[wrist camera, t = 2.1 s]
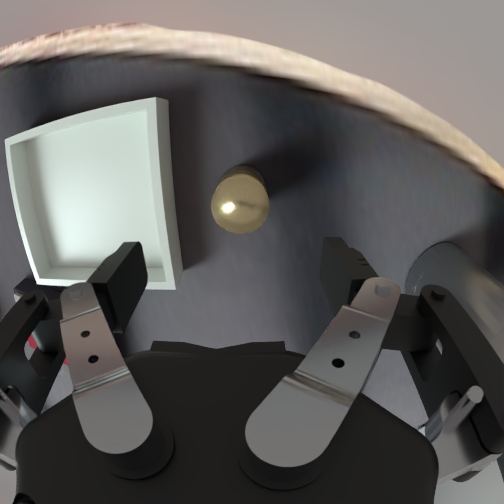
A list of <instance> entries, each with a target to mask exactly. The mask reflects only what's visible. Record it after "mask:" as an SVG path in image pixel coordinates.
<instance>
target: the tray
mask: <svg viewBox="0 0 504 504" xmlns="http://www.w3.org/2000/svg"><path fill="white" fill-rule="evenodd" d="M5 148H6V157H7V166H8V173H9V180H10V186H11V191H12V197H13V202H14V207H15V211H16V216H17V220H18V224H19V228H20V232H21V235H22V239H23V243H24V246H25V249H26V253H27V256H28V259H29V262H30V265H31V268H32V271H33V274H34V277H35V280H36V282H37V284H39V285H55V286H70V285H72V284H75V283H79V282H86V281H87V280H88V278H89V277H90V276H91V275H92V274H93V272H94V271H95V270H97V268H98V266H99V265H101V263H102V262H103V260H104V259H105V258H106V257H108V256H110V255H111V254H113V253H115V252H116V250H117V249H118V248H119V247H120V246H121V245H122V243H123V242H137V241H139V242H140V243H141V244H142V248H143V253H144V258H145V263H146V268H147V273H148V283H147V286H146V288H145V289H166V290H176V288H177V286H178V283H179V281H180V278H181V276H182V273H183V264H182V256H181V249H180V241H179V233H178V225H177V216H176V206H175V196H174V185H173V173H172V160H171V145H170V127H169V101H168V100H166V99H162V98H157V97H154V98H147V99H141V100H136V101H131V102H125V103H120V104H116V105H111V106H107V107H102V108H98V109H94V110H90V111H87V112H83V113H79V114H76V115H72V116H69V117H65V118H62V119H59V120H56V121H53V122H50V123H47V124H44V125H41V126H38V127H35V128H33V129H30V130H27V131H25V132H22V133H20V134H17V135H15V136H12V137H10V138H8V139H5Z"/></svg>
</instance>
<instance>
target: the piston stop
mask: <svg viewBox="0 0 504 504" xmlns="http://www.w3.org/2000/svg"><path fill="white" fill-rule="evenodd" d="M211 211H212V215H213V217H214V219H215V221H216V222H217V223H218V225H219V226H220V227H222V228H223V229H225V230H226V231H229V232H231V233H236V234H245V233H249V232H252V231H254V230H256V229H257V228H259V227H260V226H261V225H262V224H263V223H264V221H265V220H266V218H267V216H268V213H269V200H268V195H267V191H266V187H265V183H264V179H263V177H262V175H261V174H260V173H259V172H258V171H257V170H256V169H254V168H252V167H250V166H246V165H239V166H235V167H232V168H230V169H229V170H228V171H226V172H225V174H224V175H223V177H222V178H221V180H220V182H219V184H218V186H217V188H216V190H215V192H214V195H213V197H212V200H211Z"/></svg>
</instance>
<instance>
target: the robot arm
mask: <svg viewBox="0 0 504 504" xmlns="http://www.w3.org/2000/svg"><path fill="white" fill-rule="evenodd" d="M320 281H321V285H322V287H323V289H324V292H325V294H326V297H327V299H328V302H329V304H330V307H331V309H332V312H333V314H334V317H335V318H334V319H333V321H332V322H331V323H330V325H329V326H328V328H327V329H326V331H325V332H324V333H323V335H322V336H321V337H320V339H319V340H318V341H317V343H316V344H315V346H314V347H313V348H312V350H311V351H310V352H309V354H308V355H307V356H305V355H302V354H299V353H295V352H291V351H286V350H285V343H284V341H278V342H251V343H246V344H241V345H236V346H230V347H225V348H219V349H213V348H208V347H203V346H199V345H194V344H190V343H185V342H168V341H153V343H152V346H151V349H150V350H146V351H142V352H138V353H135V354H132V355H130V356H128V357H126V358H124V359H123V358H122V356H121V353H120V351H119V349H118V347H117V345H116V343H115V340H114V338H113V336H112V334H111V333H112V332H113V333H124V331H125V328H126V326H127V324H128V322H129V320H130V318H131V316H132V314H133V312H134V310H135V308H136V306H137V304H138V302H139V300H140V298H141V296H142V294H143V292H144V290H145V288H146V286H147V283H148V273H147V268H146V263H145V258H144V253H143V248H142V244H141V243H140V242H139V241H137V242H123V243H122V245H121V246H120V247H119V248H118V249H117V250H116V252H115V253H113V254H111V255H110V256H108V257H106V258H105V259H104V260H103V262H102V263H101V265H99V266H98V268H97V270H95V271H94V272H93V274H92V275H91V276H90V277H89V278H88V280H87V281H86V282H79V283H75V284H72V285H70V286H68V287H67V288H66V289H64V290H63V292H62V293H61V295H60V299H55V300H50V301H47V299H46V296H45V294H44V292H43V291H41V290H34V291H30V292H28V293H26V294H24V295H23V296H22V297H21V298H20V299H19V300H18V301H17V302H16V304H15V305H14V306H13V307H12V308H11V310H10V311H9V312H8V313H7V315H6V316H5V317H4V318H3V320H2V321H1V322H0V465H1V466H3V467H4V468H5V469H7V470H11V471H12V470H16V474H17V485H16V496H15V499H14V502H13V504H434V495H435V490H436V486H437V485H439V484H442V483H444V482H447V481H449V480H451V479H452V480H454V481H457V482H464V481H467V480H469V479H471V478H472V477H473V476H475V475H476V474H478V473H479V472H480V471H482V470H483V469H484V468H486V467H487V466H488V465H490V464H491V463H492V462H493V461H495V460H496V459H497V462H498V465H499V468H500V471H501V474H502V478H503V481H504V285H503V284H501V283H500V282H499V281H498V280H497V279H496V278H495V277H494V276H493V275H492V274H490V273H489V272H488V271H487V270H486V269H485V268H484V267H482V266H481V265H480V264H479V263H478V262H476V261H475V260H474V259H473V258H472V257H470V256H469V255H468V254H466V253H465V252H463V251H462V250H461V249H459V248H458V247H457V246H456V245H454V244H451V243H440V244H437V245H435V246H433V247H431V248H429V249H428V250H427V251H425V252H424V253H423V254H422V255H421V256H420V257H419V258H418V259H417V261H416V262H415V264H414V265H413V267H412V269H411V271H410V273H409V275H408V278H407V283H406V294H401V289H400V287H399V286H398V285H397V284H396V283H395V282H393V281H391V280H389V279H386V278H381V277H379V276H378V275H377V273H376V272H375V271H374V269H373V268H372V267H371V265H369V263H368V261H367V260H366V259H365V257H364V256H363V255H362V254H361V253H360V252H359V251H357V250H355V249H354V248H349V247H348V246H347V244H346V243H345V241H344V240H343V239H342V238H341V237H325V238H324V239H323V245H322V255H321V264H320ZM30 335H32V337H33V339H34V341H35V342H36V344H37V348H36V349H35V351H34V353H33V354H32V356H31V358H30V360H29V361H28V359H27V357H26V356H25V352H24V346H25V343H26V341H27V340H28V338H29V337H30ZM436 342H437V343H438V344H439V346H440V347H441V349H442V355H441V353H440V351H439V350H438V348H437V346H436ZM382 349H390V350H400V351H401V353H402V356H403V358H404V360H405V362H406V364H407V367H408V369H409V371H410V374H411V376H412V378H413V381H414V383H415V385H416V388H417V390H418V393H419V395H420V398H421V400H422V403H423V405H424V408H425V410H426V413H427V416H428V418H429V420H428V421H427V423H426V426H425V436H424V435H423V434H422V433H421V432H419V431H418V430H417V429H415V428H413V427H412V426H410V425H409V424H407V423H406V422H404V421H403V420H401V419H400V418H398V417H397V416H395V415H394V414H392V413H391V412H389V411H388V410H386V409H385V408H383V407H382V406H380V405H379V404H377V403H376V402H374V401H373V400H371V399H370V398H368V397H367V396H366V395H364V394H363V391H364V388H365V386H366V384H367V382H368V380H369V378H370V376H371V373H372V371H373V369H374V367H375V364H376V362H377V360H378V358H379V355H380V353H381V350H382ZM65 358H66V359H67V364H68V368H69V372H70V376H71V380H72V384H73V388H74V390H73V391H72V394H70V395H69V396H67V397H66V398H64V399H63V400H61V401H60V402H58V403H57V404H55V405H54V406H52V407H51V408H49V409H48V410H46V411H45V412H43V413H42V414H41V411H42V409H43V406H44V404H45V401H46V399H47V397H48V394H49V392H50V390H51V388H52V385H53V383H54V381H55V379H56V377H57V374H58V372H59V370H60V368H61V366H62V364H63V362H64V360H65Z"/></svg>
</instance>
